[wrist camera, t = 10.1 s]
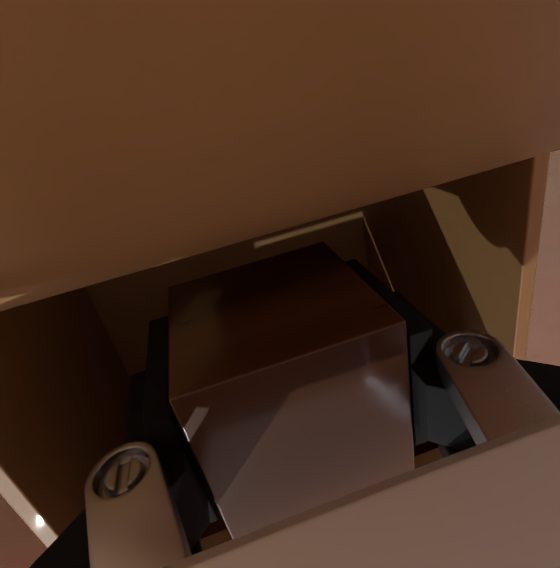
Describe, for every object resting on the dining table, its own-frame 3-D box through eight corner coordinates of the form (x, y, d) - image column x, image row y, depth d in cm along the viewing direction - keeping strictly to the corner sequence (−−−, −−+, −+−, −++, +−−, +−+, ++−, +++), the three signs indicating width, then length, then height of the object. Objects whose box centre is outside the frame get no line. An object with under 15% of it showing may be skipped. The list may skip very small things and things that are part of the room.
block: (167, 286, 11) (167, 400, 7) (324, 240, 11) (407, 321, 7) (213, 406, 13) (234, 545, 9) (343, 362, 13) (416, 474, 9)
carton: (28, 191, 14) (-188, 356, 6) (356, 108, 16) (591, 133, 7) (165, 458, 21) (166, 718, 13) (383, 381, 23) (520, 563, 14)
